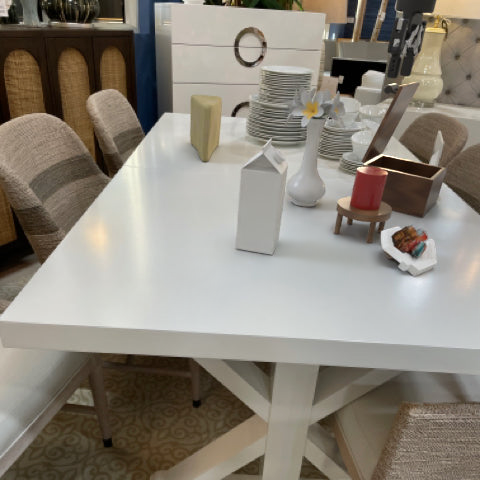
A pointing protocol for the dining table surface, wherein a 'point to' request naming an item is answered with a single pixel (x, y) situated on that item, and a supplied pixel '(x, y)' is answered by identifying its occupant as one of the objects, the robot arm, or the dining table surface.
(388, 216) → the stool
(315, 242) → the dining table surface
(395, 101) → the lid
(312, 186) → the flower vase
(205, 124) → the cheese
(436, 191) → the chest
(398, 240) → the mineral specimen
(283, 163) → the milk carton
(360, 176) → the can
